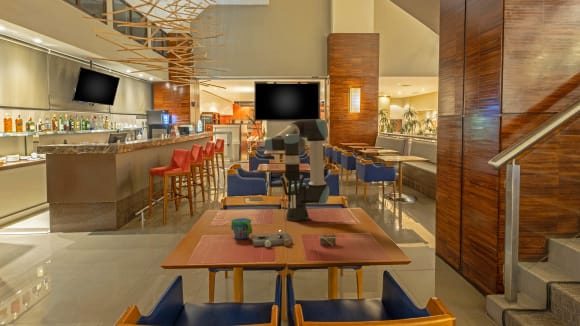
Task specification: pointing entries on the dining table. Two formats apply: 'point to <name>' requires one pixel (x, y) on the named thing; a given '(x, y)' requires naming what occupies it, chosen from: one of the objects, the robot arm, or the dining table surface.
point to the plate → (273, 238)
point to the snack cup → (241, 228)
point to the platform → (328, 239)
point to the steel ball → (280, 233)
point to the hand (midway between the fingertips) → (293, 207)
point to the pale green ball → (267, 243)
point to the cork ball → (287, 242)
